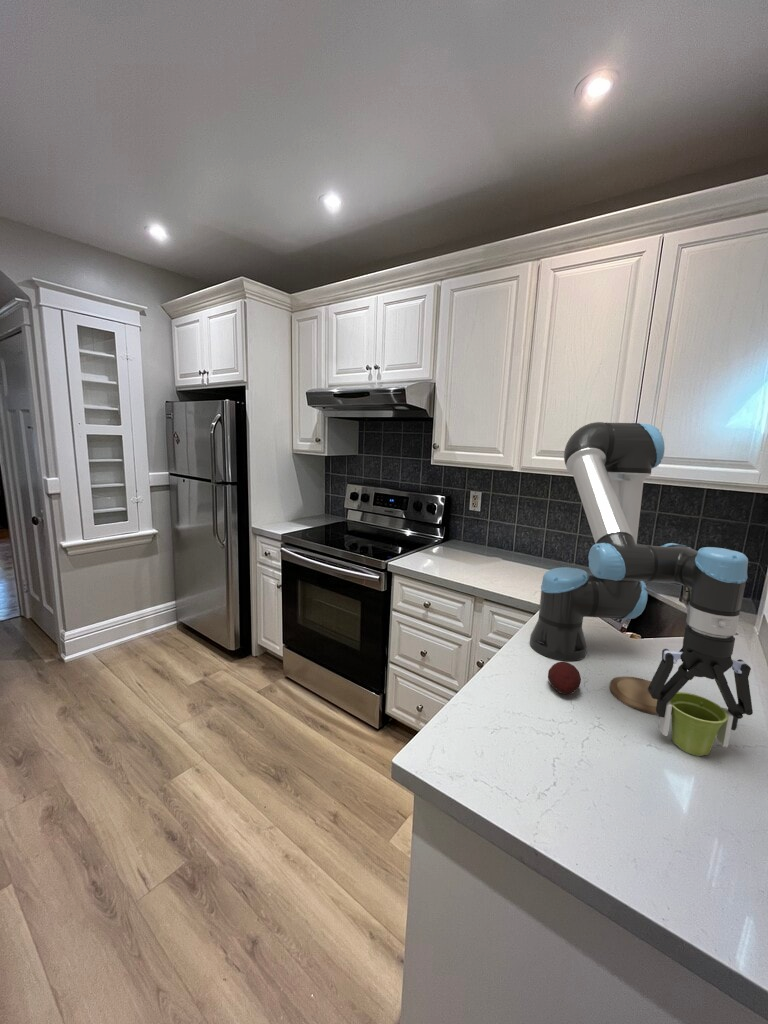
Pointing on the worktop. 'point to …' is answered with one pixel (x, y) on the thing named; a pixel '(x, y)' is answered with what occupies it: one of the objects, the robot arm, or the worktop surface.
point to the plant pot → (695, 722)
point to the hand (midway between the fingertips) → (691, 736)
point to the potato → (564, 677)
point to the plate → (634, 693)
